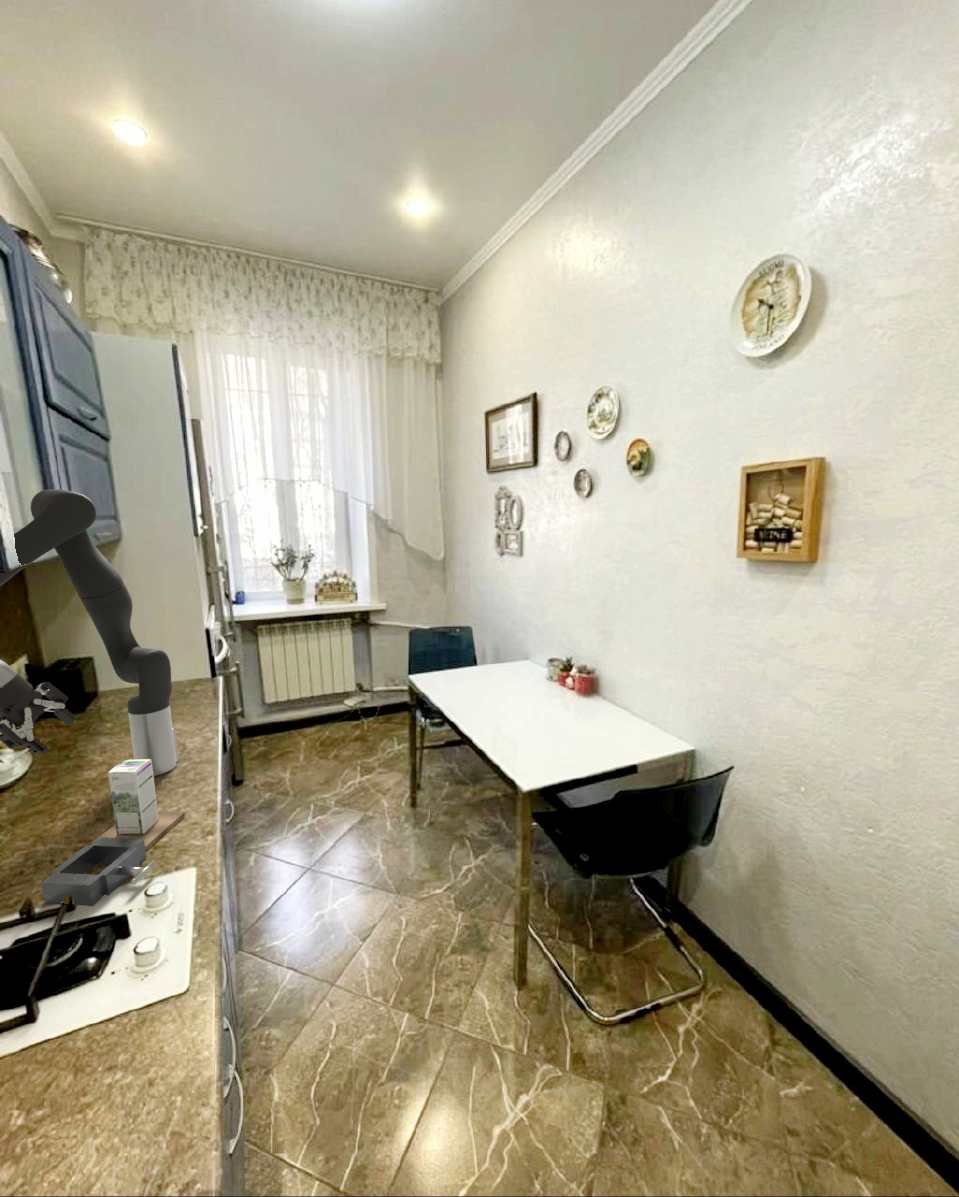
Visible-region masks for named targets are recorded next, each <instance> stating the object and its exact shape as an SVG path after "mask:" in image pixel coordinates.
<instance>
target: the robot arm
mask: <svg viewBox="0 0 959 1197" xmlns="http://www.w3.org/2000/svg"><path fill="white" fill-rule="evenodd" d="M30 512H31V516H32V517H33V520H31V521H30V522H29V523H28V524H27V525H26V526H24V527H23V528H21V529H19V530H18V531H16V532H15V533H13V534H14V537H15V549H16V553H17V556H18V561H19V563H21V565H24V564H27V565H25V566H22V567H19V568H16V569H15V570H13V571H10V572H7V573H0V587H2V586H3V585H4V584H5V583H7V582H8V581H9V580H10V579H12V578H13V577H14V576H15V575H17V574H18V573H19V572H20V571H22V570H23V569H25V568H27V566H29V565H30V564H32V563H34V562H35V561H36V560H37V559H38V560H39V558H41V557H43V556H44V555H45V554H47V553H49V552H50V551H52V550H53V549H54V551H56V553H57V555H58V557H59V559H60V561H61V563H62V565H63V567H64V570H65V572H66V573H67V575H68V577H69V579H70V581H71V583H72V585H73V587H74V589H75V592H76V593H77V595H78V597H79V599H80V601H81V603H82V604H83V607H84V608H85V611H86V612H87V613H88V615H89V617H90V618H91V621H92V622H93V624H94V627H95V629H96V631H97V632H98V634H99V636H100V638H101V640H102V643H103V644H104V647H105V650H106V653H107V655H108V657H109V660H110V663H111V666H112V668H113V670H114V672H115V674H116V676H117V677H118V678H119V679H120V680H121V681H123V682H125V683H128V684H129V683H130V684H136V685H137V684H138V695H135V696H133V697H132V698H130V699H129V700H127V705H126V706H127V713H128V721H129V728H130V737H131V746H132V754H133V760H138V759H151V761H152V767H153V776H154V777H156V776H160V775H163V774H165V773H168V772H169V771H172V770H173V769H174V768H176V766H177V763H178V762H179V754H178V752H179V751H178V743H177V736H176V734H177V733H176V729H175V728H173V721H172V712H171V704H170V699H171V695H172V690H173V689H172V688H173V687H172V669H171V662H170V658H169V656H168V654H167V653H166V652H165V651H163V650H161V649H158V648H145V647H141V645H140V644H139V643H138V641H137V640H136V638H135V635H134V634H133V631H132V629H131V628H132V627H131V619H132V614H133V600H132V597H131V594H130V593H129V590H128V588H127V586H126V584H125V582H124V580H123V578H122V577H121V575H120V573H119V572H118V571H117V570H116V568H115V567H114V566H113V565H112V564H111V562H110V561H109V560H108V559H107V558H106V557H105V556H104V555H103V553H101V551H100V550H99V549H98V547H97V546H96V545H95V543H94V542H93V540H92V539H91V536H90V534H89V532H88V530H87V529H89V528H90V527H91V526H93V524H94V523H95V520H96V517H97V509H96V506H95V504H94V502H93V501H92V500H91V499H90V498H89V497H87V496H86V495H84V494H82V493H79V492H77V491H72V490H66V489H57V488H56V489H55V488H54V489H53V488H50V489H44V490H41V491H39V492H37V493H36V494H35V495H34V496H33V498H32V499H31V502H30ZM28 563H29V564H28ZM19 566H20V565H19ZM35 688H36V689H34V687H33V685H32V684H31V683H30V682H29V681H27V679H25V678H24V677H23V676H21V674H20V673H19V672H17V671H16V670H15V669H14V668H12V667H11V666H10V665H9V663H7V662H5V661H4V660H2V659H0V718H1V721H0V742H2V744H4V745H5V746H6V748H8V749H10V750H14V749H18V748H20V747H23V746H24V747H25V748H27V749H28V750H29V751H30V752H32V753H33V754H34V755H42V754H46V753H47V752H48V750H49V747H48V746H47V745H45V744H44V743H43V742H42V741H40V740H39V739H38V738H36V737H34V733H33V729H34V724H33V723H34V722H36V721H37V720H38V718H39V717H40V716H41V715H43V714H44V713H45V712H51V713H54V716H56V717H57V718H58V719H59V720H60V721H62V723H64V724H65V725H71V724H73V723H75V721H76V719H77V718H75V715H74V714H73V713H72V712H71V711H70V710H69V709H67V707H66V702H67V701H68V700H69V697H68V695H66V694H65V693H64V692H62V691H61V690H60V689H59V688H57V687H56V686H55V685H53V684H52V683H51V682H49V681H45V682H42V683H40V684H38V685H36V686H35ZM43 696H45V697H46V698H47V699H49V700H46V699H43ZM11 728H12V729H11Z"/></svg>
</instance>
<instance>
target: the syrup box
mask: <svg viewBox="0 0 959 1197" xmlns="http://www.w3.org/2000/svg"><path fill="white" fill-rule="evenodd" d="M107 777H108V782H109V789H110V796H111V802H112V804H111V805H112V811H113V818H114V825H116V832H117V835H133V834H144V833H145V832H146V831H148V830H149V829H150V828H151V827H152V826H153V825H154V824H155V823H156V822H157V821H158V820H159V815H158V811H159V809H158V803H157V796H156V795H157V794H156V787H155V776H153V767H152V761H151V759H138V760H134V759H125V760H122V761H121V762H120V763H118V764H116V765H115V766H114V767H113V768H111V769H110V770H109V771H108V772H107Z"/></svg>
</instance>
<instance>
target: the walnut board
mask: <svg viewBox="0 0 959 1197" xmlns="http://www.w3.org/2000/svg"><path fill="white" fill-rule="evenodd" d="M158 815H159V820H158V821H157V822H156V823H155V824H154V825H153V826H152V827H151V828H150V829H149V830H148V831H146V832H145V833H144V834H133V835H117V832H116V825H115V824H114V825H113V826H112V827H110V828H109V829H107V830H106V831H105V832H103V833H102V834H101V835H100V836H98V837H97V838H95V839H94V840H93V841H92V842H90V843H89V845H92V844H93V843H94V842H96V841H97V840H98V839H99V838H101V837H107V838H128V839H144V844H145V852H147V851H148V850H149V849H150V848H151V847H152V846H154V845H155V843H157V842H159V840H160V839H161V838H162V837H164V836H165V835H166V834H167V833H168V832H169V831H170V830H171V829H172V828H174V826H176V825H177V824H178V823H179V822H180V821H182V820H183V819H184V818H185V816H186V814H185V811H169V810H166V811H163V810H158Z"/></svg>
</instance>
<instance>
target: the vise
mask: <svg viewBox="0 0 959 1197" xmlns="http://www.w3.org/2000/svg"><path fill="white" fill-rule="evenodd" d="M146 858H147V851H145V844H144V839H128V838H107V837H101V838H99V839H98V840H97V841H96V842H94V843H93V844H92V845H90V844H89V845H88V844H87V845H85V846H84V847H83V848H81V849H80V850H79V851H77V852H76V853H75V854H73V855H71V857H69V858H68V859H67V860H66V861H64V862H62V863H61V864H60V865H59V866H57V867H56V868H55V869H53V870H52V871H51V872H50V874H51V875H49V876H48V877H47V878H45V880H43V881H42V882H41V887H42V894H43V901H44V904H50V905H51V904H54V905H62V904H61V902H62V901H63V899H64V897H65V895H67V894H69V895H71V896H72V898H73V901H74V904H75V905H74V906H87V907H94V906H96V905H95V904H97V903H98V902H100V901H101V899H102V898H104V897H105V896H110V895H111V894H113V892H114V891H116V890H117V889H118V888H119V887H120V886H121V885H122V884H123V883H124V882H126V881H127V879H128V878H129V877H131V876H134V877H133V878H132V879H131V880H130V884H131V885H133V886H134V885H136V884H137V883H138V882H139V881H140V880H141V879H142V878H143V877H144V876H146V875H147V874H148V873H149V871H151V870H152V869H153V868H154V867H155V866H156V865H157V861H156V860H155V859H153V860H151V861H150V862H149V863H148V864H146V866H145V867H141V863H142V862H143V861H144V860H145V859H146ZM97 865H103V866H104V865H108V866H107V867H106V868H104V869H103V870H102V871H101V872H100V873H99V874H87V873H88V872H89V871H90V870H91V869H92V868H94V867H96V866H97Z"/></svg>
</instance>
